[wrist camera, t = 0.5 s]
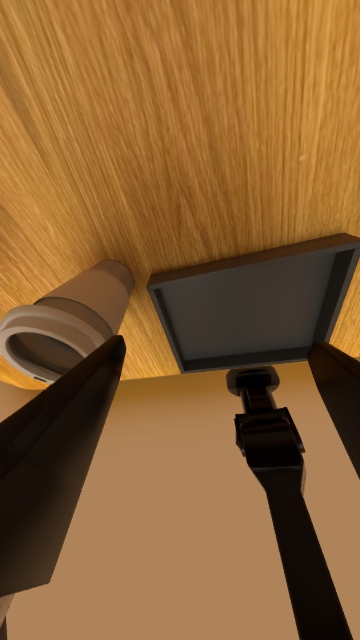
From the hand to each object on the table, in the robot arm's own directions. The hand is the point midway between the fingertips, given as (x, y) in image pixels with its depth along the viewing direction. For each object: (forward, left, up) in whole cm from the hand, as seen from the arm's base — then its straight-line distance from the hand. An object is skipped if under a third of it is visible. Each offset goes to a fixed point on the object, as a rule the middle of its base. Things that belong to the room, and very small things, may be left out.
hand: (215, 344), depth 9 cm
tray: (-8, -4, -13) cm, 16 cm away
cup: (0, +10, -13) cm, 17 cm away
